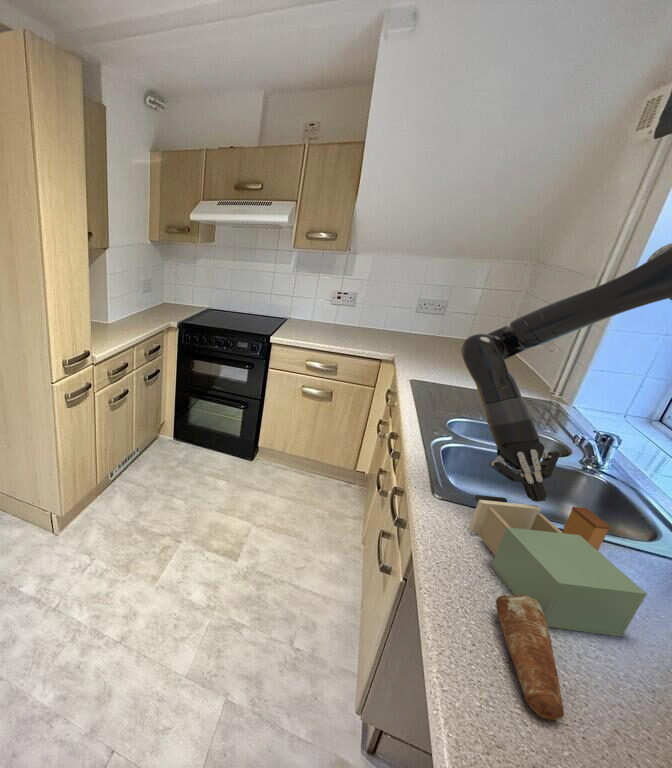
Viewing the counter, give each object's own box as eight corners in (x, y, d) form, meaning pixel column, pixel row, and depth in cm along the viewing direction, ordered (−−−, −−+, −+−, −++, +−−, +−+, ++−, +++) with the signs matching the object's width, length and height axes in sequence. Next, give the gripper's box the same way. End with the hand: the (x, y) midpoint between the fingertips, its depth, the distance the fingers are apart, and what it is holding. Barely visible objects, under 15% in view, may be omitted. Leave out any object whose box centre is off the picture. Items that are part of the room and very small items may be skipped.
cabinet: (491, 565, 83) (506, 527, 80) (560, 574, 81) (579, 535, 78) (538, 625, 70) (558, 582, 67) (622, 637, 69) (647, 593, 65)
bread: (536, 625, 70) (547, 601, 68) (565, 733, 55) (582, 706, 53) (490, 608, 74) (500, 584, 72) (506, 706, 58) (520, 679, 56)
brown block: (572, 537, 91) (586, 507, 88) (595, 558, 86) (610, 526, 83) (559, 536, 92) (572, 506, 89) (581, 556, 86) (596, 525, 83)
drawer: (455, 512, 97) (465, 484, 94) (508, 518, 96) (520, 490, 93) (503, 571, 80) (516, 539, 78) (568, 579, 79) (584, 547, 76)
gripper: (485, 426, 88) (515, 508, 84) (555, 412, 86) (588, 496, 82) (467, 427, 95) (494, 504, 92) (531, 415, 93) (560, 493, 90)
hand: (538, 500), depth 87 cm, fingers closed
